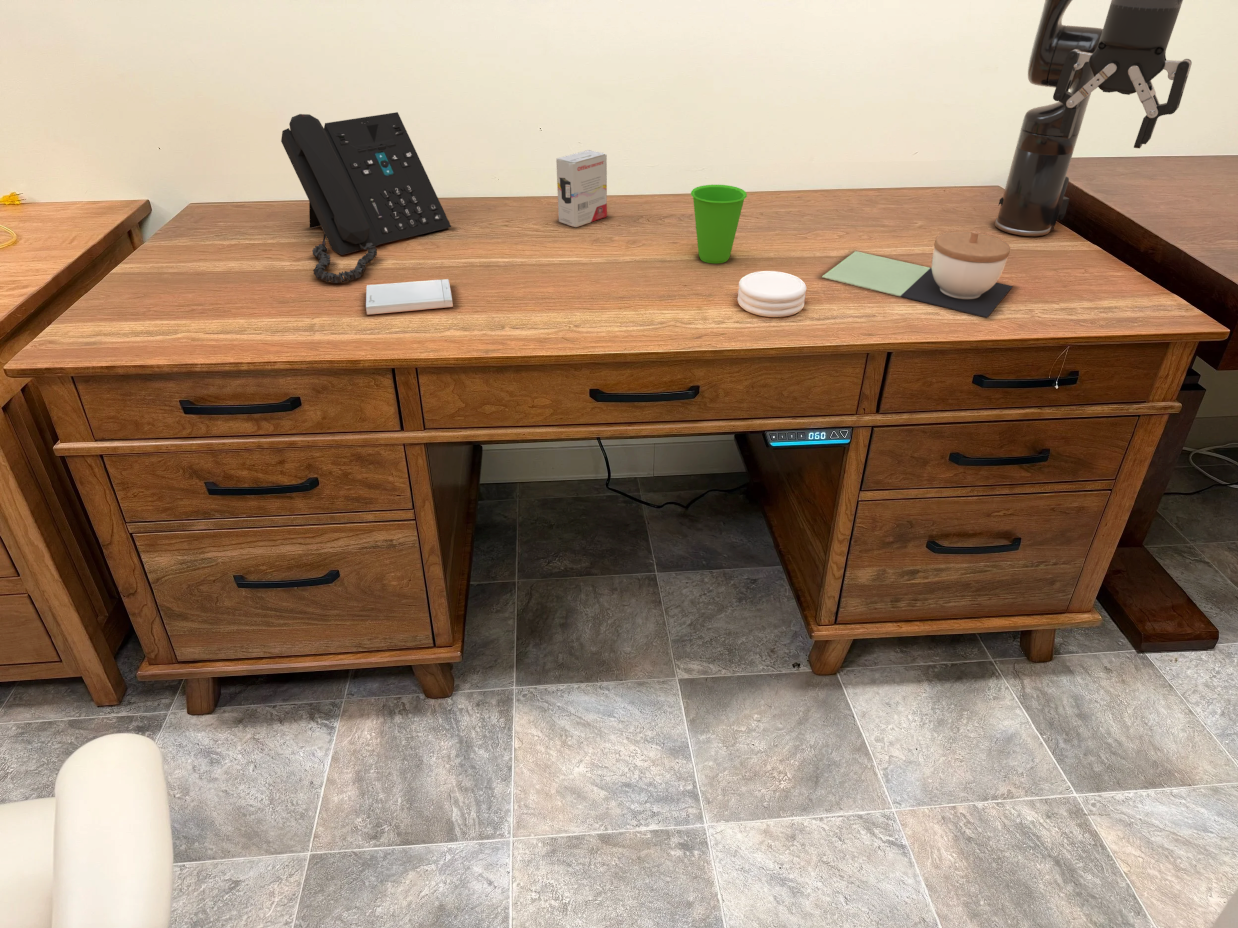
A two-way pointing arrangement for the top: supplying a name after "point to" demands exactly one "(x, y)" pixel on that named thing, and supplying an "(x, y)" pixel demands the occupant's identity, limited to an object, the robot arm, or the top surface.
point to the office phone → (361, 185)
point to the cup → (716, 220)
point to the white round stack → (771, 293)
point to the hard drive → (408, 296)
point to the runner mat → (910, 283)
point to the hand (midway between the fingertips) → (1101, 142)
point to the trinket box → (968, 263)
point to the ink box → (582, 187)
